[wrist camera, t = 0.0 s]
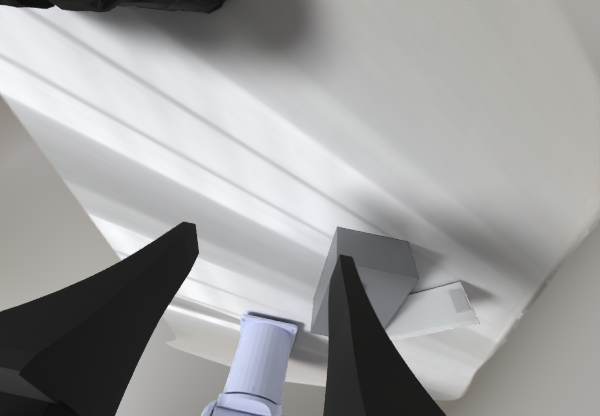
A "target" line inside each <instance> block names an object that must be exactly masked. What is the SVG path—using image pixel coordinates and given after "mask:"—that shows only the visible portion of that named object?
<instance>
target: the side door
mask: <svg viewBox="0 0 600 416" xmlns="http://www.w3.org/2000/svg"><path fill="white" fill-rule="evenodd" d="M476 324H480V322H479V320H478V318H477V316H476V314H475V312H474V309H473V307H472V305H471V303H470V301H469V299H468V297H467V294H466V292H465V290H464V288H463V286H462V284H461V282H456V283H452V284H449V285H445V286H441V287H437V288H434V289H430V290H426V291H422V292H419V293H415V294H411V295H408V296H407V297H406V299H405V300H404V301H403V303H402V304H401V306H400V307H399V308H398V310H397V311H396V313H395V314H394V316H393V317H392V318H391V320H390V321H389V323H388V324H387V325H386V327H385V328H384V330H385V331H386V333H387V335H388V336H389V338H390V340H391V341H393V340H398V339H404V338H409V337H414V336H419V335H424V334H429V333H434V332H440V331H445V330H450V329H455V328H460V327H465V326H470V325H476Z"/></svg>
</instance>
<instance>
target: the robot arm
mask: <svg viewBox="0 0 600 416" xmlns="http://www.w3.org/2000/svg"><path fill="white" fill-rule="evenodd" d="M198 254H199V249H198V241H197V233H196V225H195V224H193V223H188V222H182V223H180V224H179V225H177V226H176V227H174V228H173V229H171V230H170V231H168V232H167V233H165V234H164V235H162V236H161V237H159V238H158V239H156V240H155V241H153V242H151V243H150V244H148V245H147V246H145V247H144V248H142V249H140V250H139V251H137V252H135V253H134V254H132V255H130V256H129V257H127V258H125V259H124V260H122V261H120V262H118V263H116V264H115V265H113V266H111V267H109V268H107V269H105V270H103V271H101V272H99V273H97V274H95V275H93V276H91V277H89V278H86V279H84V280H82V281H80V282H77V283H75V284H73V285H70V286H68V287H66V288H64V289H61V290H59V291H56V292H54V293H51V294H49V295H46V296H44V297H41V298H38V299H36V300H33V301H30V302H28V303H25V304H22V305H19V306H16V307H13V308H10V309H7V310H4V311H1V312H0V416H115V414H116V412H117V409H118V407H119V404H120V402H121V400H122V397H123V395H124V393H125V390H126V388H127V386H128V384H129V381H130V379H131V377H132V375H133V372H134V370H135V368H136V366H137V364H138V361H139V360H140V358H141V355H142V353H143V351H144V349H145V347H146V345H147V343H148V341H149V339H150V337H151V335H152V333H153V331H154V329H155V328H156V326H157V324H158V322H159V320H160V318H161V316H162V315H163V313H164V311H165V310H166V308H167V307H168V305H169V304H170V302H171V301H172V299H173V297H174V296H175V294H176V293H177V291H178V290H179V288H180V287H181V285H182V283H183V282H184V280H185V279H186V277H187V276H188V274H189V272H190V271H191V269H192V267H193V265H194V263H195V260H196V258H197V256H198ZM297 329H298V327H297V325H294V324H289V323H284V322H280V321H275V320H270V319H266V318H261V317H256V316H251V315H247V314H243V315H242V316H241V334H240V342H239V345H238V348H237V351H236V354H235V357H234V361H233V364H232V367H231V370H230V373H229V376H228V379H227V382H226V386H225V389H224V392H223V393H220V395H219V398H218V401H214V400H213V401H212V402H211V403H210V404H208V405H207V406H206V407H205V409H204V410H203V413H202V414H201V416H281V413H282V406H281V402H282V396H283V390H284V383H285V377H286V371H287V364H288V358H289V356H290V353H291V349H292V346H293V343H294V339H295V336H296V333H297ZM328 331H329V354H328V369H327V381H326V393H325V404H324V414H323V416H446V415H445V413H444V412H443V411H442V410H441V409H440V407H439V406H438V405H437V404H436V403H435V401H434V400H433V399H432V398H431V396H430V395H429V394H428V393H427V391H426V390H425V389H424V387H423V386H422V385H421V383H420V382H419V381H418V380H417V378H416V377H415V376H414V374H413V373H412V371H411V370H410V368H409V367H408V365H407V364H406V363H405V361H404V360H403V358H402V357H401V355H400V354H399V352H398V351H397V349H396V348H395V346H394V344H393V343H392V341H391V340H390V338H389V336H388V335H387V333H386V331H385V330H384V328H383V326H382V324H381V322H380V320H379V319H378V317H377V315H376V313H375V311H374V309H373V307H372V305H371V302H370V300H369V298H368V296H367V293H366V291H365V289H364V287H363V284H362V282H361V279H360V276H359V274H358V271H357V268H356V265H355V262H354V259H353V257H351V256H346V255H342V254H339V257H338V260H337V263H336V265H335V268H334V271H333V274H332V276H331V279H330V286H329V296H328ZM282 416H283V415H282Z"/></svg>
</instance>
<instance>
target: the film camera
mask: <svg viewBox="0 0 600 416" xmlns="http://www.w3.org/2000/svg"><path fill="white" fill-rule="evenodd" d="M224 1H225V0H0V5H7V6H13V7H31V8H42V9H48V8H51V7H55V6H54V4H55V5H56V6H58V7H59V8H60V9H62V10H71V11H95V12H105V11H110V10H112V9H113V8H115V7H116V6H136V7H143V8H152V9H160V10H169V11H177V10H181V11H196V12H206V13H211V12H213V11H215V10H217V9H219V8H221V7H222V5H223V3H224Z"/></svg>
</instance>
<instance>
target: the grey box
mask: <svg viewBox="0 0 600 416" xmlns="http://www.w3.org/2000/svg"><path fill="white" fill-rule="evenodd" d="M339 254H342V255H346V256H351V257H353V259H354V262H355V265H356V268H357V271H358V274H359V276H360V279H361V282H362V284H363V287H364V289H365V291H366V293H367V296H368V298H369V300H370V302H371V305H372V307H373V309H374V311H375V313H376V315H377V317H378V319H379V320H380V322H381V324H382V326H383V328H385V327H386V325H387V324H388V323H389V321H390V320H391V318H392V317H393V316H394V314H395V313H396V311H397V310H398V308H399V307H400V306H401V304H402V303H403V301H404V300H405V299H406V297H407V296H408V294H409V293H410V292H411V290H412V289H413V287H414V286H415V284H416V283H417V282H418V280H419V276H418V273H417V270H416V267H415V263H414V260H413V257H412V254H411V250H410V247H409V244H408V242H407V241H403V240H398V239H393V238H388V237H383V236H378V235H374V234H369V233H364V232H359V231H354V230H350V229H345V228H340V227H337V229H336V232H335V235H334V238H333V241H332V244H331V247H330V250H329V253H328V256H327V259H326V262H325V266H324V269H323V272H322V275H321V278H320V281H319V284H318V287H317V290H316V293H315V296H314V302H313V313H312V323H311V333H314V334H319V335H324V336H328V337H329V331H328V296H329V286H330V279H331V276H332V274H333V271H334V268H335V265H336V263H337V260H338V257H339Z"/></svg>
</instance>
